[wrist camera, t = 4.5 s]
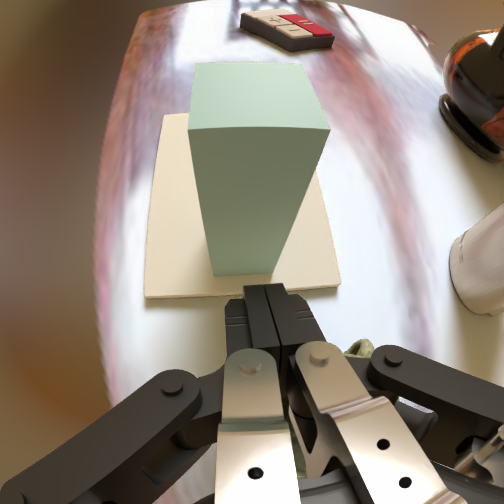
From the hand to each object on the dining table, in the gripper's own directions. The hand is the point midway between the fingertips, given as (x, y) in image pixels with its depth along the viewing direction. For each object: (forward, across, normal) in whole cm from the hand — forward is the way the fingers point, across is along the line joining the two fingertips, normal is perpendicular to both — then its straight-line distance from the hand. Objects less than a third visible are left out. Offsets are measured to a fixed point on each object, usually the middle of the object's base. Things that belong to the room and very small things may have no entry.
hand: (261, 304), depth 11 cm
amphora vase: (+27, -43, -12) cm, 52 cm away
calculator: (+43, -11, -28) cm, 53 cm away
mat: (+16, 0, -2) cm, 16 cm away
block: (+11, 0, +2) cm, 11 cm away
